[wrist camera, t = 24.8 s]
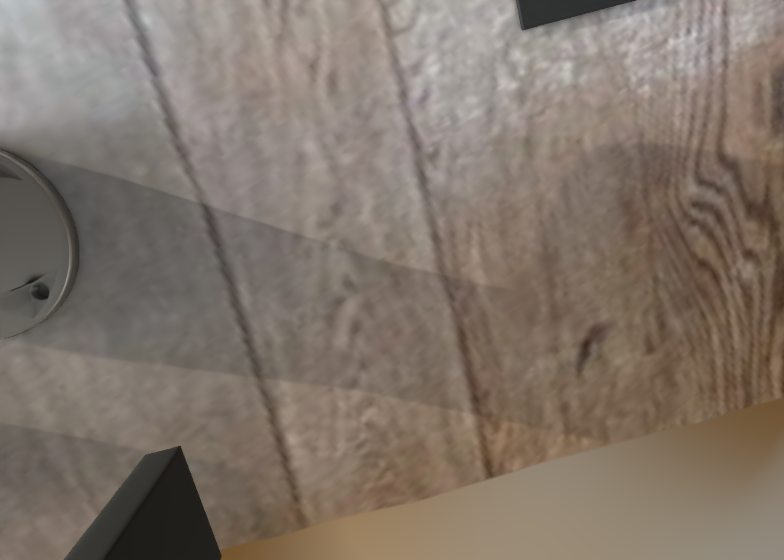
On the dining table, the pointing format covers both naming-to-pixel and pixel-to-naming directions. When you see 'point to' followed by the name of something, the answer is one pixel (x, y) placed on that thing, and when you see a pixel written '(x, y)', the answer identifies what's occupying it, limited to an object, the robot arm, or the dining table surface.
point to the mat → (558, 10)
